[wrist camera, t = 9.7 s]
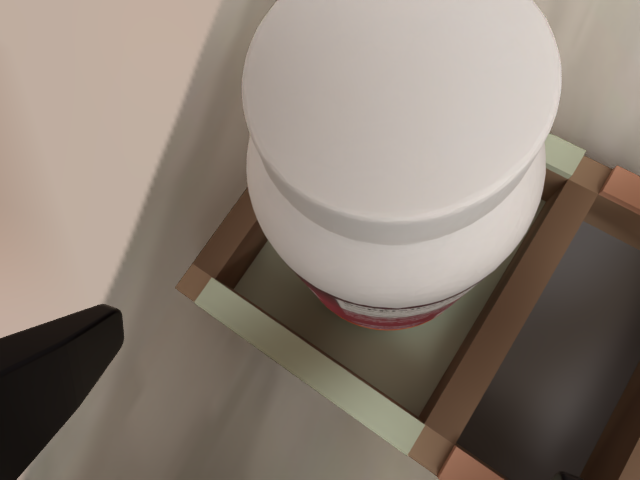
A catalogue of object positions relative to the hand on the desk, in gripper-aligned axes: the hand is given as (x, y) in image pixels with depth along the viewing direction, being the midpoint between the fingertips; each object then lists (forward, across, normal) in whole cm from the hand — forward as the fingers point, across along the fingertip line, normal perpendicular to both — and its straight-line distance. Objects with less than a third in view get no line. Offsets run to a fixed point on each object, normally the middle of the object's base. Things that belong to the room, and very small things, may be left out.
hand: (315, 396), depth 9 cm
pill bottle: (+9, 0, +2) cm, 9 cm away
